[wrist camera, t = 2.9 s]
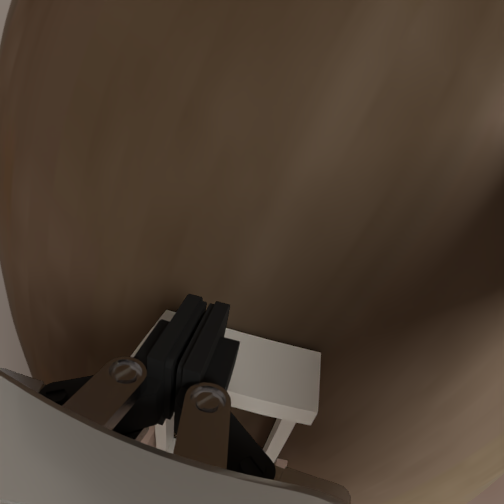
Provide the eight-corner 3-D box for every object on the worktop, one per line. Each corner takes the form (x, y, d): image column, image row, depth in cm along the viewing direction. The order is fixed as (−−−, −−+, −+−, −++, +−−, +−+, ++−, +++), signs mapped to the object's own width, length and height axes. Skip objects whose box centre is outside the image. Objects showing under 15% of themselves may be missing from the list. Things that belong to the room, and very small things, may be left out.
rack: (321, 352, 19) (318, 412, 15) (246, 499, 30) (237, 532, 25) (166, 309, 20) (130, 356, 16) (165, 475, 31) (151, 506, 26)
